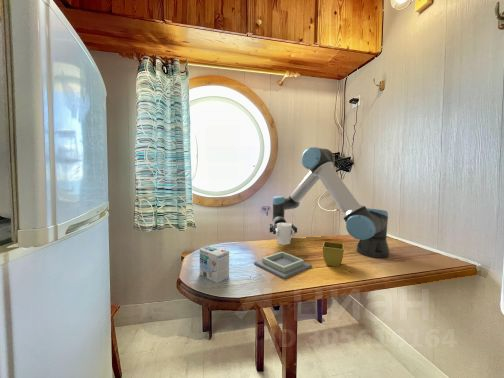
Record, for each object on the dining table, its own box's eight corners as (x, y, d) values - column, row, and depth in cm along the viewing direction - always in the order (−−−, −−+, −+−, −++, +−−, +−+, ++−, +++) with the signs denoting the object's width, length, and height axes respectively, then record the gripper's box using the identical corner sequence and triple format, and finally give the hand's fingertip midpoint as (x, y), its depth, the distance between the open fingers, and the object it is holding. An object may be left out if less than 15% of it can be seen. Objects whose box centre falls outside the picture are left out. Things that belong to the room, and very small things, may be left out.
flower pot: (321, 266, 100) (322, 246, 100) (323, 259, 108) (323, 240, 108) (342, 269, 97) (343, 249, 96) (342, 262, 105) (343, 243, 104)
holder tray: (311, 266, 99) (312, 260, 99) (284, 279, 88) (284, 271, 88) (281, 254, 113) (281, 249, 113) (254, 264, 102) (254, 257, 102)
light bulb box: (199, 275, 91) (198, 248, 90) (212, 269, 96) (211, 244, 95) (217, 283, 84) (216, 255, 83) (229, 277, 89) (229, 250, 88)
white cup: (291, 245, 115) (291, 226, 115) (275, 244, 117) (275, 225, 116) (291, 241, 123) (291, 222, 122) (277, 240, 125) (277, 222, 124)
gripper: (296, 229, 138) (305, 241, 115) (263, 229, 138) (265, 241, 115) (297, 217, 137) (305, 226, 114) (263, 217, 137) (265, 226, 114)
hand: (285, 234), depth 115 cm, fingers closed on white cup, 8 cm apart
